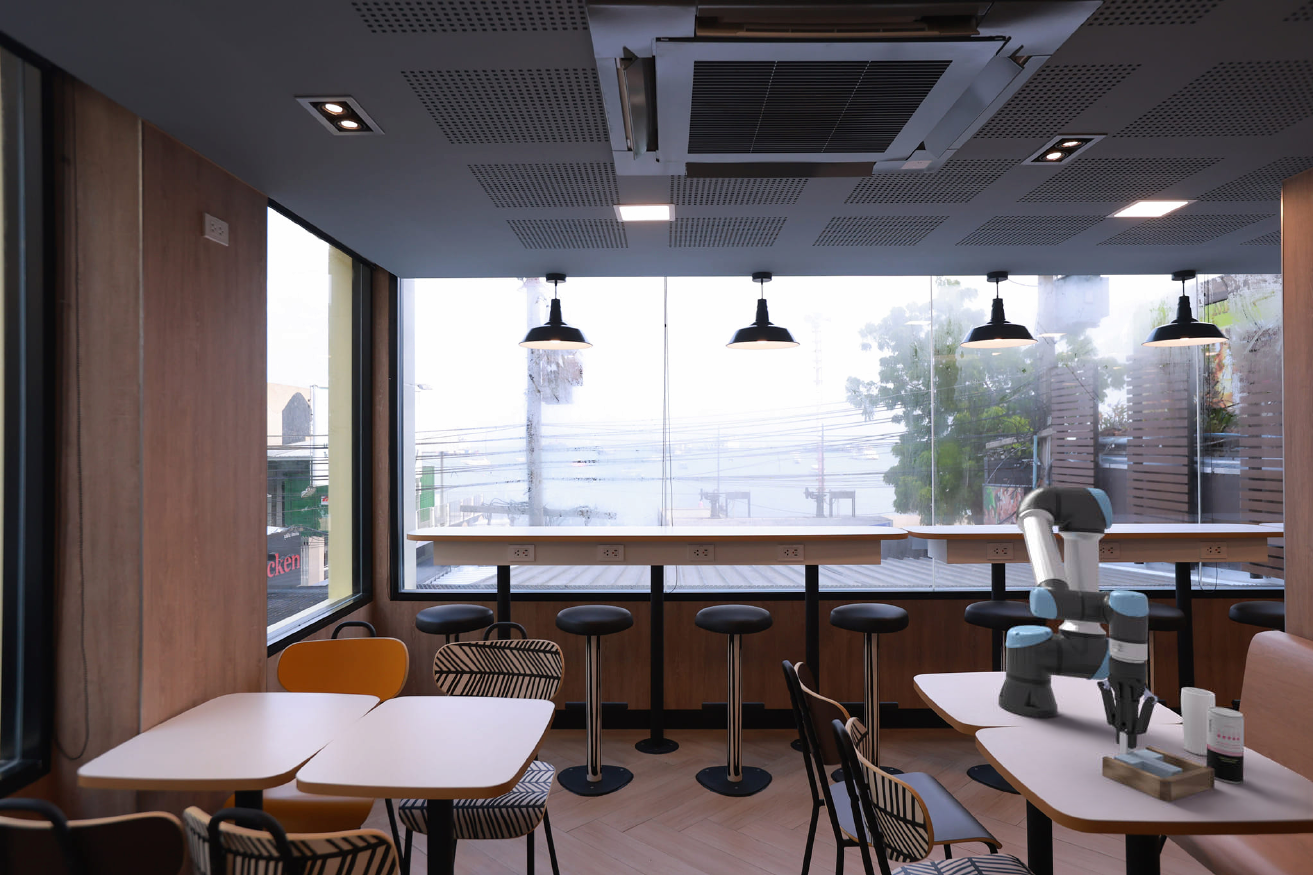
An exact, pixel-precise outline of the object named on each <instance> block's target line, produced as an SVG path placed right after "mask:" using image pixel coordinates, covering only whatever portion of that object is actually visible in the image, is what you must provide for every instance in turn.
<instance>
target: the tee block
mask: <svg viewBox="0 0 1313 875" xmlns="http://www.w3.org/2000/svg"><path fill="white" fill-rule="evenodd" d="M1113 759H1115V760H1118V761H1120V762H1123V763H1125V764H1128V765H1130V766H1133V767H1136V768H1138V769H1141V770H1143V771H1146V772H1148V773H1151V774H1154V775H1156V776H1159V777H1161V778H1167V777H1171V776H1174V775H1178V774H1182V769H1181V768H1178V767H1175V766H1173V765H1170V764H1167V763H1165V762H1163V755H1160V754H1157V753H1155V752H1152V751H1149V750H1146V748H1144V749H1141V750H1140V749H1139V750H1135V751H1133V752H1131V753H1127V754H1123V755H1116V756H1115V755H1114V756H1113Z"/></svg>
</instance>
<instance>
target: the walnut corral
mask: <svg viewBox="0 0 1313 875" xmlns="http://www.w3.org/2000/svg"><path fill="white" fill-rule="evenodd" d="M1145 749H1146V750H1149V751H1152V752H1155V753H1157V754H1160V755H1163V762H1165V763H1167V764H1170V765H1173V766H1175V767H1178V768H1181V769H1182V774H1178V775H1174V776H1171V777H1167V778H1161V777H1159V776H1156V775H1154V774H1151V773H1148V772H1146V771H1143V770H1141V769H1138V768H1136V767H1133V766H1130V765H1128V764H1125V763H1123V762H1120V761H1118V760H1115V759H1114V758H1112V757H1110V756H1102V767H1101V768H1102V770H1101V771H1102V772H1101V774H1102V776H1103V777H1106V778H1109V779H1110V780H1113V781H1116V782H1117V783H1121V784H1122V785H1126V786H1127V787H1130V788H1132V789H1135V790H1138V791H1140V792H1142V793H1144V794H1147V795H1149V796H1152V797H1155V798H1156V799H1159V800H1162V801H1164V802H1165V803H1169V802H1172V801H1175V800H1178V799H1181V798H1185V797H1188V796H1192V795H1195V794H1197V793H1202V792H1205V791H1207V790H1211V789H1214V788H1215V778H1214V775H1215V769H1212V768H1210V767H1207V765H1204V764H1201V763H1197V762H1196V761H1193V760H1189V759H1188V758H1184V757H1181V756H1179V755H1175V754H1173V753H1170V752H1167V751H1165V750H1161V749H1159V748H1156V747H1153V746H1150V745H1148V746H1145Z"/></svg>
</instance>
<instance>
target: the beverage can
mask: <svg viewBox="0 0 1313 875" xmlns="http://www.w3.org/2000/svg"><path fill="white" fill-rule="evenodd" d="M1244 741H1245V717H1244V714H1243V713H1242V712H1239V711H1238V710H1234V709H1231V708H1226V707H1221V706H1215V707H1209V708H1208V711H1207V755H1206V766H1207V767H1210V768H1212V769H1215V775H1214V780H1218V781H1221V782H1223V783H1224V782H1225V783H1228V784H1240V783H1242V782H1244V769H1245V768H1244V767H1245V766H1244V764H1245V763H1244V759H1245V758H1244V754H1245V753H1244V750H1245V746H1244V745H1245V744H1244Z"/></svg>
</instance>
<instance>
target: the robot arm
mask: <svg viewBox="0 0 1313 875" xmlns="http://www.w3.org/2000/svg"><path fill="white" fill-rule="evenodd" d="M1110 500H1111V499H1110V498H1109V497H1108V495H1107V493H1106V491H1104V490H1102V489H1101V488H1091V487H1087V486H1086V487H1079V486H1078V487H1077V486H1075V487H1073V486H1072V487H1071V486H1053V485H1052V486H1050V485H1044V486H1039V487H1035V488H1034V489H1031V490H1030V491H1029V492H1027V493H1026V494H1025V495H1024V496H1023V497H1022V498H1021V500H1020V502H1019V503H1018V505H1017V507H1016V510H1015V520H1016V524H1017V528H1018V529H1019V530H1020V531H1021V532H1022V534H1023V538H1024V541H1025V546H1026V550H1027V554H1028V558H1029V563H1030V567H1031V571H1032V574H1033V578H1034V579H1033V580H1034V583H1035V587H1032V588H1031V590H1030V593H1029V607H1030V611H1031V613H1032V614H1033V616H1035V617H1037V618H1043V619H1050V620H1064V622H1063V623H1062V624H1061V625H1059V627H1058V633H1053V630H1052V629H1051V628H1050V627H1047V626H1043V625H1042V626H1040V625H1018V626H1013V627H1011V628H1010V629H1009V630H1008V631H1007V633H1006V642H1005V647H1006V648H1005V649H1006V650H1005V651H1006V652H1005V655H1006V656H1005V680H1004V682H1003V683H1002V684H1003V685H1002V686H1001V689H1000V693H999V694H998V706H1000V707H1001V708H1002V709H1004V710H1006V711H1009V712H1011V713H1013V714H1017V715H1021V716H1026V717H1032V718H1054V717H1057V715H1058V713H1059V712H1058V711H1059V710H1058V709H1059V708H1058V707H1059V706H1058V703H1057V701H1056V700H1057V699H1056V696H1055V693H1054V691H1053V687H1052V676H1056V677H1057V676H1058V677H1066V678H1074V679H1075V678H1076V679H1085V680H1087V681H1090V680H1095V681H1097V682H1096V685H1097V686H1098V689H1099V690H1100V693H1101V699H1102V702H1103V709H1104V713H1105V717H1106V721H1107V724H1108V725H1109V726H1112V727H1114V729H1115V733H1116V734H1115V740H1116V744H1118V745H1119V748H1118V749H1119V753H1118V754H1119V755H1123V754H1127V753H1131V752H1134V749H1137V745H1138V736H1140V735H1143V734H1147V731H1148V729H1149V725H1150V721H1151V719H1152V715H1153V712H1154V707H1155V706H1156V705H1157V703H1158V702H1159V701H1160V697H1159V696H1158V695H1154V694H1153V693H1152V692H1151V691H1150V690H1149V686H1148V683H1147V678H1148V663H1147V662H1146V661H1147V660H1148V630H1149V613H1150V609H1149V602H1148V600H1149V599H1148V597H1147V595H1146V594H1144V593H1142V592H1137V591H1132V590H1131V591H1130V590H1125V589H1124V590H1122V589H1121V590H1119V589H1115V590H1113V591H1110V590H1102V591H1100V554H1099V553H1100V548H1099V544H1100V543H1099V541H1100V540H1101V539H1102V538H1103V537H1105V535H1106V534H1105V532H1106V531H1107V530H1109V529H1110V528H1112V525H1113V520H1114V519H1113V508H1112V504H1111V501H1110ZM1053 527H1057V528H1058V530H1057V533H1058V534H1059V535H1060V536H1061V537H1062V538H1063V541H1064V543H1063V545H1064V547H1063V548H1064V550H1063V552H1064V553H1063V554H1064V555H1063V557H1064V561H1063V560H1062V556H1061V553H1060V549H1059V546H1058V543H1057V539H1056V536H1055V532H1054V529H1053ZM1105 530H1106V531H1105ZM1063 562H1064V564H1063ZM1101 624H1108V629H1109V631H1108V637H1107V632H1106V630H1104V629H1103V627H1102V626H1101ZM1113 693H1114V694H1113ZM1141 698H1143V702H1142V705H1141V709H1139V706H1140V703H1141ZM1139 710H1140V712H1139Z"/></svg>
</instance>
